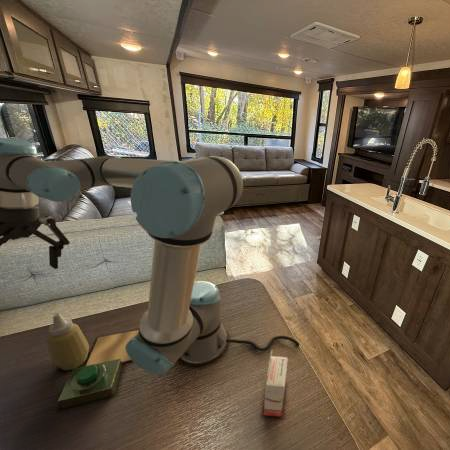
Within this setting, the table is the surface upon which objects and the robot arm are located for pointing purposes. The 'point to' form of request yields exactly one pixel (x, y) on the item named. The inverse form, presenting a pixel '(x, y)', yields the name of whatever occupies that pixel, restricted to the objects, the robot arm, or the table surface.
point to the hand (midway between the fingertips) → (21, 275)
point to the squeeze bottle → (66, 343)
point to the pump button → (87, 375)
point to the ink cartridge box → (275, 386)
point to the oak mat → (111, 348)
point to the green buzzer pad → (91, 384)
